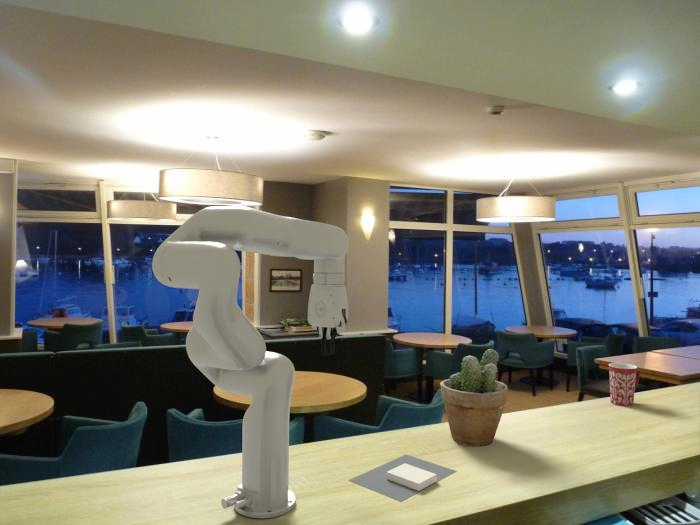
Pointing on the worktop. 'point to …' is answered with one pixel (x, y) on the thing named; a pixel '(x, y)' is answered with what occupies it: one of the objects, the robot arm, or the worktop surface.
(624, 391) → the mug
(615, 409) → the worktop surface
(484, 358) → the potted plant
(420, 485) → the tile
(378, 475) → the mat
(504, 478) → the worktop surface
